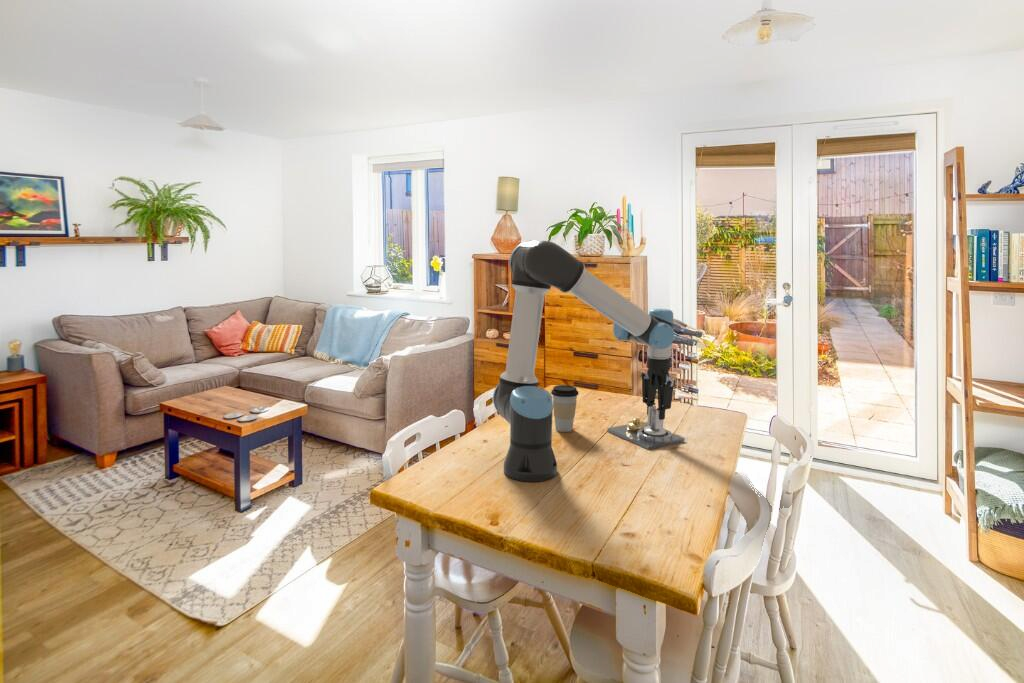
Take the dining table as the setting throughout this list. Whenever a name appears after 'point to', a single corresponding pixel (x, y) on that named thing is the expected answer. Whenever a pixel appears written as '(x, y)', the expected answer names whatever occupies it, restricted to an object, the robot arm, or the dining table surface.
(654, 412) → the silver round-based piece
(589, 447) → the dining table surface
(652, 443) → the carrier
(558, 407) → the coffee cup
